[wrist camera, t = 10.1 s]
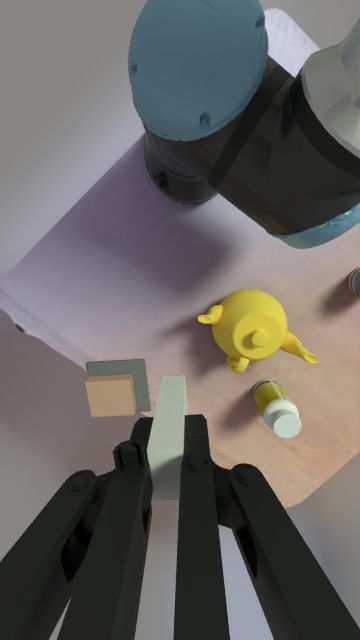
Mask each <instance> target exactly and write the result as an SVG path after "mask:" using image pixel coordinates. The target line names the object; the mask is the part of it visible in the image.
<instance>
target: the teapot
mask: <svg viewBox="0 0 360 640" xmlns="http://www.w3.org/2000/svg"><path fill="white" fill-rule="evenodd" d="M198 321H200V322H202V323H205V324H212V332H213V336H214V338H215V340H216V342H217V344H218V345H219V347H220V348H221V349H222V350H223V351H224V352H225V353H226V354H228V355H229V356H228V358H227V364H228V365H229V366H231V369H232V371H233V372H235V373H242V372H243V371H244V370H245V369H246V367H247V365H248V363H249V362H254V361H260V360H263V359H266V358H268V357H270V356H271V355H273V354H274V353H275V352H276V351H277V350H278V349H281V350H283V351H285V352H288V353H291V354H293V355H296V356H298V357H300V358H302V359H304V360H306V361H308V362H310V363H313V364H317V363H319V360H318V358H317V357H315V356H314V355H313V354H311V353H309V352H308V351H307V350H305V349H304V347H303V346H302V345H301V343H300V342H299V340H298V339H297V338H296V337H295V336H294V335H293V334H292V333H290V332H289V331H288V330H287V318H286V315H285V312H284V310H283V308H282V307H281V305H280V303H279V302H278V301H277V300H276V299H275V298H274V297H272V296H271V295H269V294H268V293H265V292H263V291H260V290H255V289H244V290H240V291H237V292H234V293H232V294H230V295H229V296H227V297H226V298H225V299H224V300H223V301H222V302H221V303H220V304H219V305H215V306H212V307H210V308H209V310H208V311H207V313H206V315H200V316H198ZM238 360H239V361H238Z"/></svg>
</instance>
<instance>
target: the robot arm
mask: <svg viewBox="0 0 360 640" xmlns="http://www.w3.org/2000/svg"><path fill="white" fill-rule="evenodd" d="M128 70H129V77H130V83H131V87H132V94H133V103H134V106H135V109H136V110H137V113H138V114H139V117H140V118H141V120H142V123H143V125H144V128H145V131H146V135H145V141H144V155H145V162H146V166H147V169H148V171H149V174H150V176H151V178H152V180H153V182H154V183H155V185H156V186H157V187H158V189H159V190H160V191H161V192H162V193H163V194H164V195H166V196H167V197H169V198H170V199H172V200H174V201H177V202H180V203H184V204H197V203H201V202H204V201H207V200H209V199H211V198H213V197H214V196H216V195H217V194H218V193H219V194H220V195H221V196H223V197H224V198H225V199H226V200H228V201H229V202H230V203H232V204H233V205H234V206H235V207H237V208H238V209H239V210H241V211H242V212H243V213H245V214H246V215H247V216H248V217H250V218H251V219H252V220H254V221H255V222H256V223H258V224H259V225H260V226H261V227H263V228H264V229H265V230H266V231H267V233H268V234H270V235H272V236H273V237H277V238H279V239H280V240H282V241H283V242H285V243H286V244H288V245H289V246H291V247H294V248H298V249H307V248H312V247H316V246H319V245H322V244H324V243H327V242H329V241H331V240H333V239H335V238H337V237H338V236H340V235H342V234H343V233H345V232H347V231H348V230H350V229H351V228H352V227H354V226H355V225H356V224H358V223H359V222H360V18H359V19H358V21H357V22H356V24H355V25H354V26H353V28H352V29H351V31H350V32H349V33H348V35H347V36H346V38H345V39H344V40H343V41H342V42H340V43H339V44H336V45H334V46H331V47H328V48H325V49H322V50H319V51H317V52H314V53H313V54H311V55H310V56H309V58H308V59H307V60H306V61H305V63H304V65H303V66H302V68H301V70H300V71H299V73H298V74H297V76H296V77H293V76H292V75H290V73H288V72H287V71H286V70H285V69H284V68H283V67H282V66H280V65H279V64H278V63H277V62H276V61H275V60H274V59H272V58H271V57H270V56H269V55H268V36H267V32H266V29H265V15H264V12H263V9H262V6H261V4H260V2H259V0H148V1H147V2H146V4H145V6H144V7H143V9H142V11H141V13H140V15H139V17H138V19H137V21H136V24H135V26H134V29H133V32H132V36H131V40H130V47H129V56H128ZM113 455H114V461H115V467H116V468H115V469H114V470H113V471H111V472H108V473H106V474H103V475H100V476H96V475H95V473H94V472H93V471H91V470H81V471H78V472H76V473H74V474H73V475H71V476H70V477H69V478H68V479H67V480H66V481H65V482H64V483H63V485H62V486H61V487H60V489H59V490H58V491H57V492H56V493H55V495H54V496H53V497H52V498H51V500H50V501H49V502H48V503H47V505H46V506H45V507H44V508H43V510H42V511H41V512H40V513H39V514H38V516H37V517H36V519H34V521H33V522H32V523H31V524H30V526H29V527H28V528H27V529H26V531H25V532H24V533H23V534H22V536H21V537H20V538H19V539H18V541H17V542H16V543H15V544H14V546H13V547H12V548H11V549H10V551H9V552H8V553H7V554H6V556H5V557H4V558H3V559H2V560H1V562H0V640H49V638H50V636H51V634H52V632H53V631H54V629H55V627H56V625H57V623H58V621H59V619H60V617H61V615H62V613H63V611H64V609H65V608H66V606H67V604H68V602H69V600H70V598H71V600H70V603H69V605H68V609H67V611H66V614H65V617H64V620H63V623H62V626H61V629H60V632H59V635H58V638H57V640H134V638H135V631H136V623H137V616H138V609H139V602H140V595H141V587H142V581H143V574H144V566H145V560H146V551H147V545H148V538H149V531H150V524H151V517H152V508H151V507H152V506H151V499H152V493H153V500H154V501H158V500H179V521H178V546H177V570H176V594H175V616H174V640H230V634H229V625H228V615H227V606H226V596H225V587H224V577H223V567H222V558H221V548H220V538H219V529H218V524H219V525H222V526H225V527H228V528H231V529H232V531H233V533H234V537H235V539H236V542H237V545H238V547H239V550H240V552H241V555H242V558H243V560H244V563H245V565H246V568H247V571H248V573H249V576H250V578H251V581H252V584H253V586H254V589H255V591H256V594H257V597H258V599H259V602H260V604H261V607H262V609H263V612H264V615H265V617H266V620H267V622H268V625H269V628H270V630H271V633H272V635H273V638H274V640H360V629H359V627H358V625H357V624H356V622H355V621H354V619H353V618H352V616H351V614H350V613H349V611H348V610H347V608H346V606H345V605H344V603H343V602H342V600H341V599H340V597H339V595H338V594H337V592H336V590H335V589H334V587H333V586H332V584H331V582H330V581H329V579H328V578H327V576H326V574H325V573H324V571H323V570H322V568H321V567H320V565H319V563H318V562H317V560H316V559H315V557H314V555H313V554H312V552H311V551H310V549H309V547H308V546H307V544H306V543H305V541H304V540H303V538H302V536H301V535H300V533H299V531H298V530H297V528H296V527H295V525H294V524H293V522H292V520H291V519H290V517H289V516H288V514H287V512H286V511H285V509H284V508H283V506H282V504H281V503H280V501H279V500H278V498H277V496H276V495H275V493H274V492H273V490H272V489H271V487H270V485H269V484H268V482H267V481H266V479H265V477H264V476H263V474H262V473H261V472H260V470H259V469H258V468H256V467H255V466H253V465H250V464H246V463H244V464H238V465H235V466H234V467H233V468H232V469H231V470H229V469H225V468H222V467H220V466H218V465H216V464H215V463H214V462H213V460H212V459H211V455H210V448H209V438H208V429H207V420H206V419H205V417H204V416H203V415H202V414H198V415H188V410H187V397H186V384H185V375H183V376H164V377H162V382H161V387H160V391H159V396H158V401H157V405H156V410H155V414H154V417H146V418H140V419H139V420H138V421H137V422H136V423H135V424H134V428H133V431H132V434H131V438H130V440H128V441H124V442H122V443H120V444H119V445H118V446H116V447H115V449H114V451H113ZM71 596H72V597H71Z"/></svg>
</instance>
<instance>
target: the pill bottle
mask: <svg viewBox="0 0 360 640" xmlns="http://www.w3.org/2000/svg"><path fill="white" fill-rule="evenodd" d="M253 397H254V400H255V402H256V404H257V406H258V408H259V411H260V413H261V415H262V417H263V419H264V421H265V423H266V424H267V425H268V426H269V427H270V428H272V429H273V430H274V432H275V434H276V435H278V436H279V437H282V438H291V437H294V436H295V435H297V434H298V433H299V431H300V430H301V421H300V419H299V418H298V410H297V407H296V406H295V404H294V403H293V402H292V400H291V399H290V397H289V396H288V395H287V393H286V392H285V390H284V389H283V387H282V386H281V385H280V384H279V383H278V382H276V381H274V380H270V379H268V380H263V381H261V382H259V383H258V384H257V385H256V386H255V388H254V390H253Z"/></svg>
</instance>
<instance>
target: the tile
mask: <svg viewBox="0 0 360 640" xmlns="http://www.w3.org/2000/svg"><path fill="white" fill-rule="evenodd" d="M85 385H86V390H87V396H88V401H89V406H90V411H91V416H92V417H99V416H100V417H101V416H123V415H134V414H135V411H136V409H137V407H136V400H135V392H134V385H133V378H132V374H126V375H108V376H90V377H89V378H88V379H87V380H86V382H85Z"/></svg>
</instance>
